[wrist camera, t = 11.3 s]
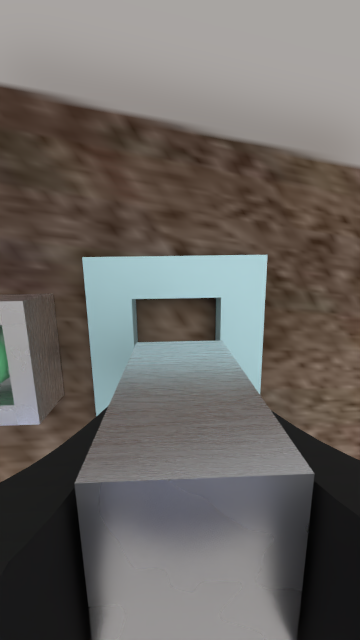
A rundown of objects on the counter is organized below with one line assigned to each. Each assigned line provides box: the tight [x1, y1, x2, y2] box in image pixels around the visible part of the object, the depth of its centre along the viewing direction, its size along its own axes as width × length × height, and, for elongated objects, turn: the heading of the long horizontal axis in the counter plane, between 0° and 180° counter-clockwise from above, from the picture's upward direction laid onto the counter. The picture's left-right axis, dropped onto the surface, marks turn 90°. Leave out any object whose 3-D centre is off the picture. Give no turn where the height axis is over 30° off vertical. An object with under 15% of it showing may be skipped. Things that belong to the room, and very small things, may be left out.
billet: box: [74, 341, 314, 640], centre depth 9 cm, size 4×6×8 cm
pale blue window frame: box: [82, 255, 267, 416], centre depth 19 cm, size 12×13×2 cm
